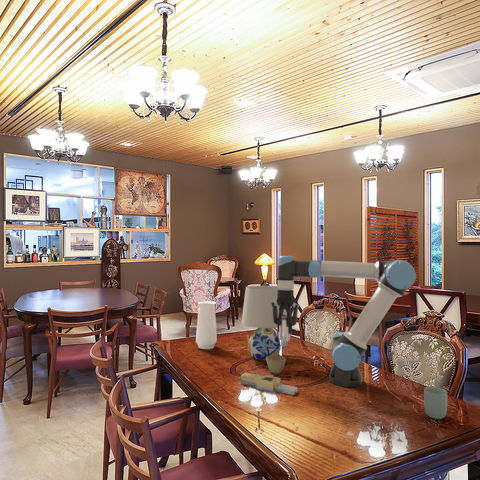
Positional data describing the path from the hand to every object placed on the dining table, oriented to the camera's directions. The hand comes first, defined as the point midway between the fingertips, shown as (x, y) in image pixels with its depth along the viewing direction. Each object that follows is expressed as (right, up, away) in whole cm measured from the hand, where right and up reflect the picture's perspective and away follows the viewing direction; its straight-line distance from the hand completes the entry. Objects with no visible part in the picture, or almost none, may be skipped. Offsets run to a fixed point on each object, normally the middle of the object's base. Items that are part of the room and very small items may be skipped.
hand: (284, 339), depth 177 cm
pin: (0, -3, 0) cm, 3 cm away
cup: (+54, -21, -32) cm, 66 cm away
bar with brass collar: (-8, -20, -5) cm, 22 cm away
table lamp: (-6, -22, +45) cm, 50 cm away
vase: (-42, -22, +63) cm, 79 cm away
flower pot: (-2, -21, +17) cm, 28 cm away
